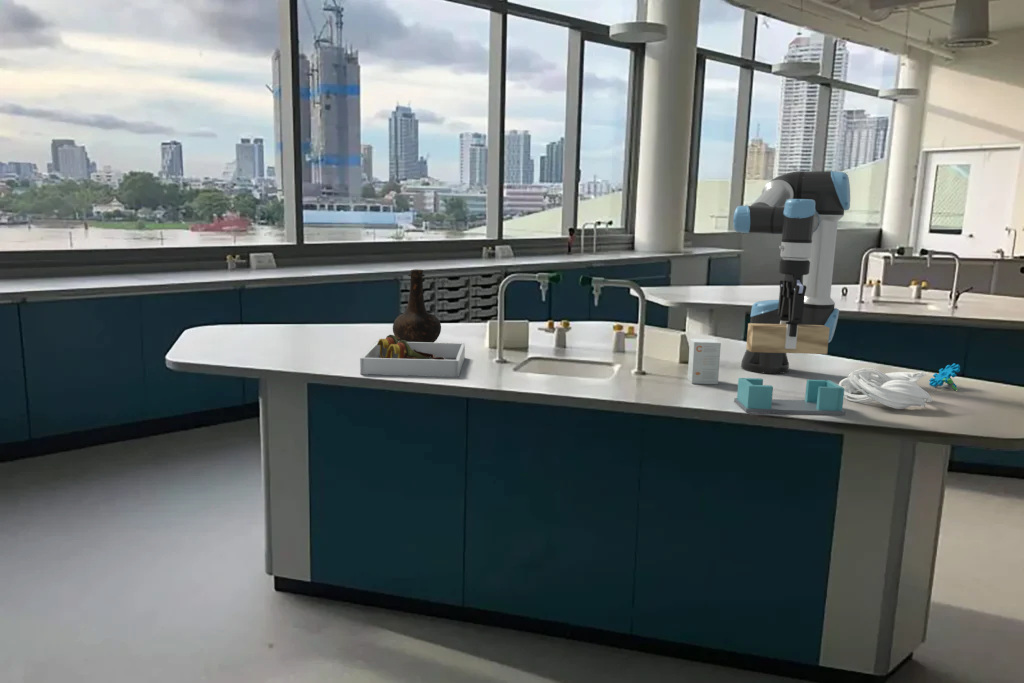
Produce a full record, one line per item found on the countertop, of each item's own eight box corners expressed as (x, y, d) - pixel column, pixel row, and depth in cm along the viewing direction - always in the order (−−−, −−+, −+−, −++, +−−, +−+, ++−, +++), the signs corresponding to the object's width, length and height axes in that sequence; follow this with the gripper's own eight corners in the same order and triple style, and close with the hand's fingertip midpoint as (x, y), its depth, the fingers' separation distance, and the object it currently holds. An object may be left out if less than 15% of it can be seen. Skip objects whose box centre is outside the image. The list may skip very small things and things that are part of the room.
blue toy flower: (924, 376, 240) (953, 357, 235) (937, 390, 240) (966, 371, 235) (931, 389, 230) (961, 369, 225) (944, 403, 230) (974, 384, 225)
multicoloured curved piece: (469, 367, 246) (470, 337, 244) (415, 378, 228) (415, 345, 226) (419, 356, 261) (419, 327, 260) (365, 365, 244) (364, 335, 242)
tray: (377, 355, 259) (377, 341, 258) (464, 357, 259) (464, 343, 258) (360, 374, 231) (360, 358, 230) (458, 376, 231) (458, 360, 230)
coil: (865, 389, 231) (867, 359, 229) (948, 405, 211) (951, 372, 210) (818, 401, 216) (820, 369, 215) (902, 419, 197) (905, 384, 195)
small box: (712, 379, 235) (715, 338, 233) (718, 384, 229) (721, 342, 227) (686, 379, 235) (689, 338, 233) (691, 384, 229) (694, 341, 227)
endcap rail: (734, 401, 209) (736, 377, 208) (827, 404, 209) (830, 379, 208) (746, 412, 198) (748, 386, 197) (844, 415, 198) (847, 389, 197)
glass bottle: (420, 351, 267) (420, 272, 262) (382, 345, 277) (381, 269, 272) (450, 344, 282) (451, 269, 277) (414, 339, 291) (414, 266, 286)
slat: (746, 348, 204) (748, 323, 203) (820, 350, 204) (822, 325, 202) (751, 352, 199) (753, 326, 198) (827, 354, 199) (829, 327, 198)
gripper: (770, 256, 206) (762, 340, 210) (792, 261, 189) (783, 352, 193) (797, 257, 206) (789, 341, 210) (822, 261, 188) (813, 353, 193)
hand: (786, 346), depth 201 cm, fingers closed on slat, 4 cm apart
